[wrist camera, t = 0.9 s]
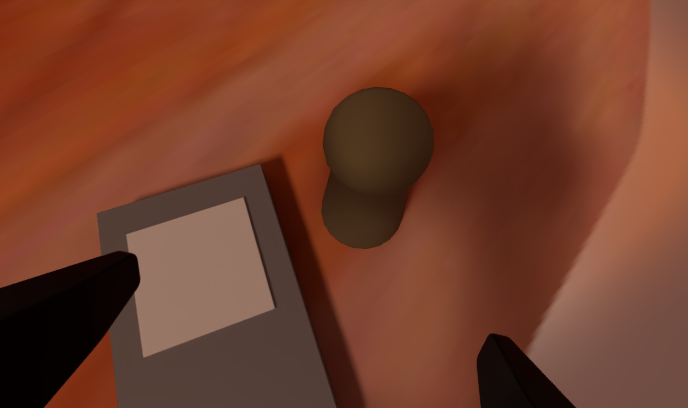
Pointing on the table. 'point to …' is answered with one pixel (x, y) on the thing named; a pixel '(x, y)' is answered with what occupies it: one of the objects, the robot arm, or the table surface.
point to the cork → (373, 164)
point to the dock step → (212, 302)
